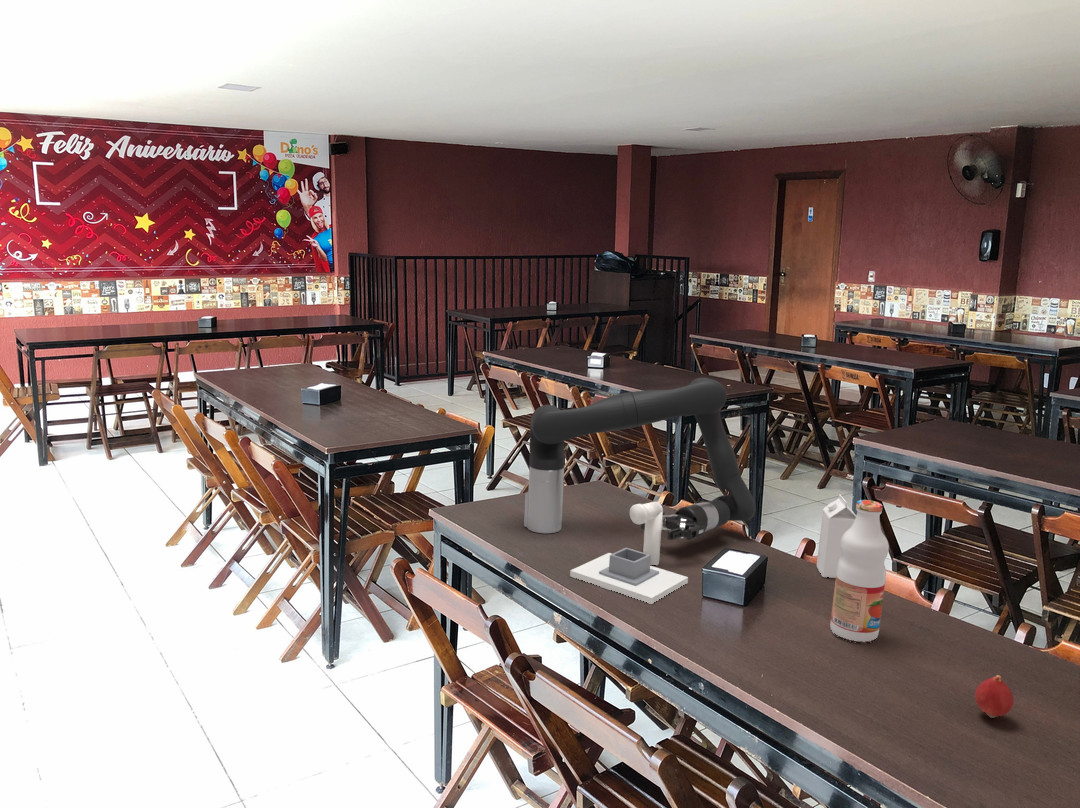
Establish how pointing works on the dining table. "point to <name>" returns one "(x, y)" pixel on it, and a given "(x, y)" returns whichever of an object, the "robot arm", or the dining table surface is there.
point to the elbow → (649, 527)
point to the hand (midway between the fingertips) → (655, 530)
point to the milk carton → (833, 535)
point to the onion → (994, 697)
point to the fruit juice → (860, 576)
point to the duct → (630, 575)
